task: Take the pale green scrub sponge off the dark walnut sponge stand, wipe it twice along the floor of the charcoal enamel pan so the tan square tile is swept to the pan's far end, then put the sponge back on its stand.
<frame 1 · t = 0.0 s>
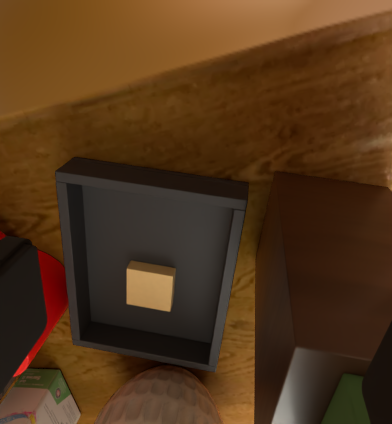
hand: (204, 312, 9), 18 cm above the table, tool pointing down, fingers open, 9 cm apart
mug: (26, 263, 34), on the table
pan: (154, 262, 31), on the table
stand: (316, 226, 27), on the table
ink box: (53, 389, 43), on the table
tan square tile: (152, 282, 32), point 1 cm above the table, touching pan
vase: (173, 382, 39), on the table
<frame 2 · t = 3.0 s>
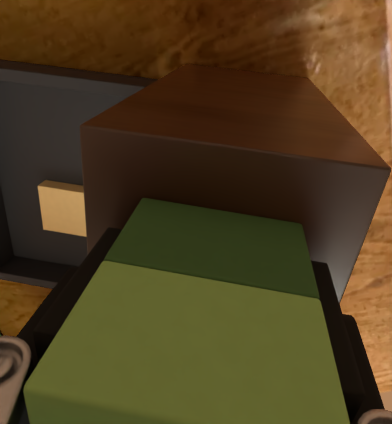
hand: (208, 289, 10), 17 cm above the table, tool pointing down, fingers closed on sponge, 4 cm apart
pan: (72, 183, 29), on the table
sponge: (206, 297, 11), point 16 cm above the table, touching gripper, stand
stand: (237, 131, 25), on the table
tan square tile: (71, 205, 29), point 1 cm above the table, touching pan
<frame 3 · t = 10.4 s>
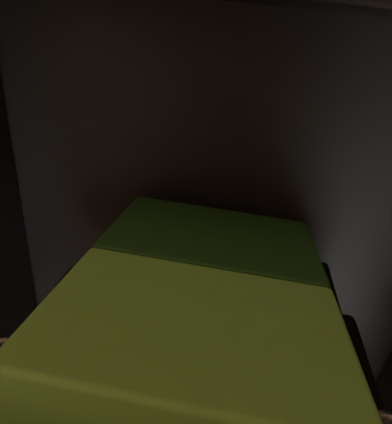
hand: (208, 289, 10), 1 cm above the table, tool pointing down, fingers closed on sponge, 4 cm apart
pan: (210, 281, 12), on the table
sponge: (205, 309, 11), point 1 cm above the table, tilted 7°, touching tan square tile, gripper
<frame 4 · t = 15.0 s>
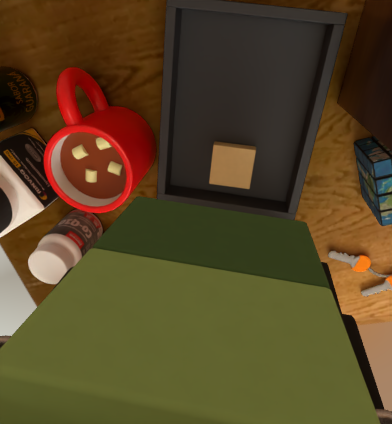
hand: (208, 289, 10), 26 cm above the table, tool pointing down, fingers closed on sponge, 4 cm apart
mug: (111, 125, 36), on the table
pill bottle: (85, 225, 42), on the table
pan: (239, 113, 33), on the table
sponge: (205, 308, 11), point 26 cm above the table, tilted 5°, touching gripper
soda can: (16, 94, 36), on the table
puzzle: (391, 161, 34), on the table
medicine bottle: (35, 169, 40), on the table
tan square tile: (232, 163, 35), point 1 cm above the table, touching pan
when the fingers open (16 cm above the table, at t = 19.6 s): sponge stays where it is, resting on stand.
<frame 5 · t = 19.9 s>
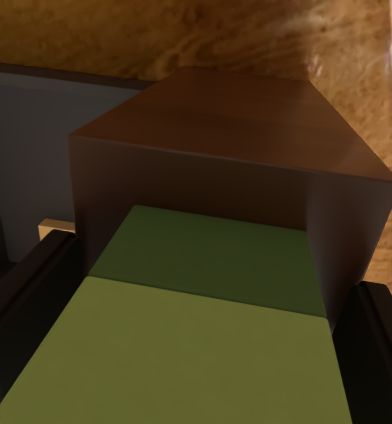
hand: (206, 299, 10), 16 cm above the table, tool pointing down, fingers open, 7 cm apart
pan: (68, 187, 28), on the table
sponge: (205, 309, 11), point 16 cm above the table, touching stand
stand: (236, 135, 24), on the table
tan square tile: (70, 242, 30), point 1 cm above the table, touching pan
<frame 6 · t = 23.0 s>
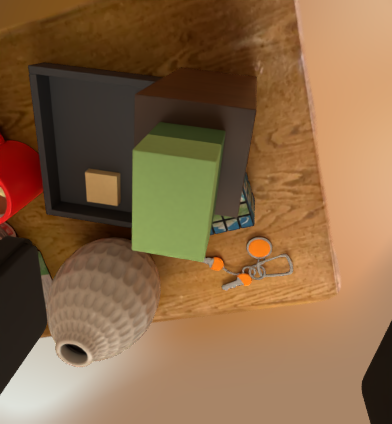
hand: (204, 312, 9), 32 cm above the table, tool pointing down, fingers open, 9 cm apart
mug: (12, 154, 45), on the table
pill bottle: (2, 232, 52), on the table
pan: (105, 147, 43), on the table
sponge: (188, 171, 25), point 16 cm above the table, touching stand
key chain: (242, 263, 48), on the table
puzzle: (224, 185, 43), on the table
stand: (213, 110, 39), on the table
ink box: (36, 272, 54), on the table
tan square tile: (105, 185, 45), point 1 cm above the table, touching pan
vase: (127, 257, 50), on the table
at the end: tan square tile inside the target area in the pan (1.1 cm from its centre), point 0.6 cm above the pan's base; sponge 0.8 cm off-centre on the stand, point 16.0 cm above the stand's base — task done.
